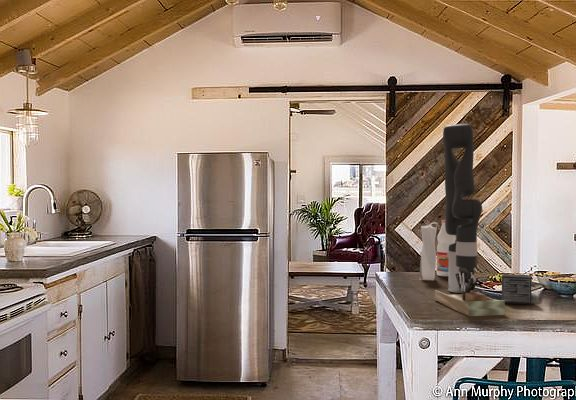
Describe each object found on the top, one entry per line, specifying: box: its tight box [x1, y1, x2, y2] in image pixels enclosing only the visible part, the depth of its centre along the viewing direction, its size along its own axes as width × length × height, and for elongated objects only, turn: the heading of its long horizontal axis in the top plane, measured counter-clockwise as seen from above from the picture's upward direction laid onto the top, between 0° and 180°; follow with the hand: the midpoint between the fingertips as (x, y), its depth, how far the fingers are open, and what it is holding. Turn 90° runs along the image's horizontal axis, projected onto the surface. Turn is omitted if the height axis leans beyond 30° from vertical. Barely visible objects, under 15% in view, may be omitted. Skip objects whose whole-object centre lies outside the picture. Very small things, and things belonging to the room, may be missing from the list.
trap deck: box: [434, 289, 506, 317], centre depth 209 cm, size 13×28×5 cm, turn 10°
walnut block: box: [465, 291, 487, 302], centre depth 199 cm, size 5×5×5 cm
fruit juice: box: [436, 219, 457, 278], centre depth 284 cm, size 9×9×28 cm
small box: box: [501, 274, 533, 305], centre depth 218 cm, size 11×6×10 cm, turn 71°
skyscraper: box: [418, 222, 439, 281], centre depth 272 cm, size 8×8×28 cm
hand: (466, 301), depth 205 cm, fingers closed
